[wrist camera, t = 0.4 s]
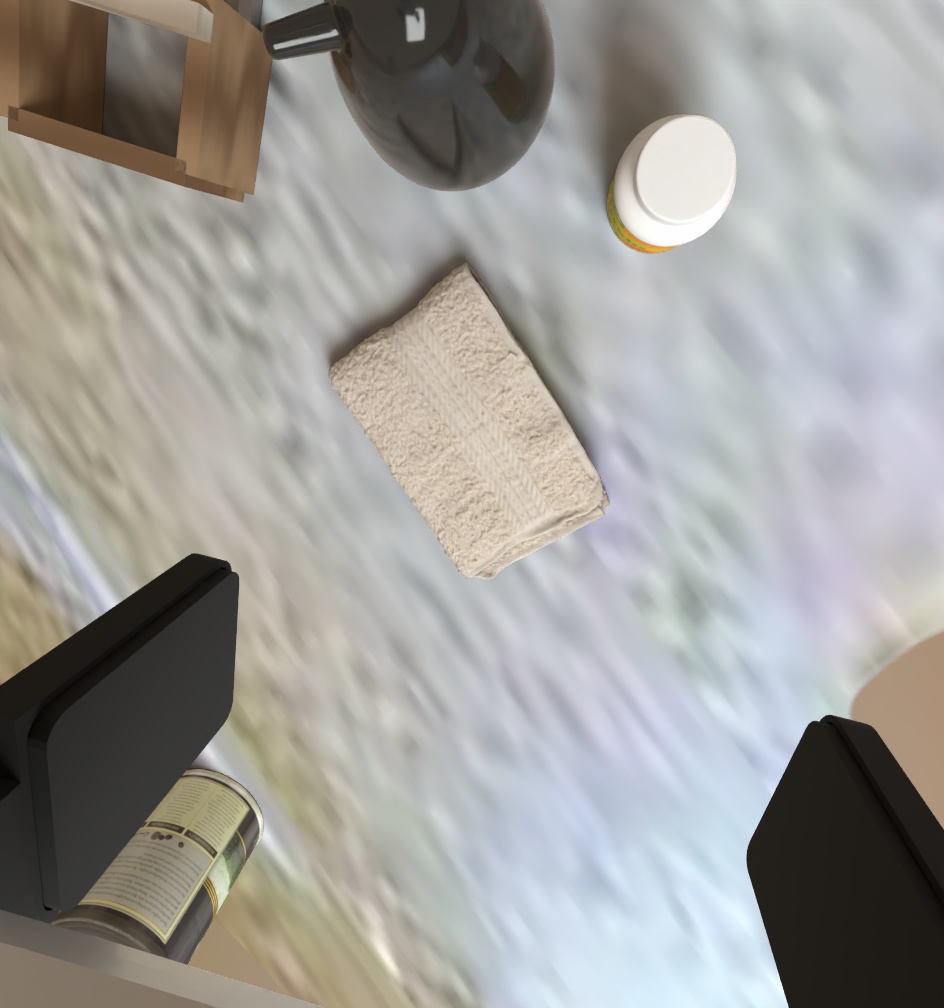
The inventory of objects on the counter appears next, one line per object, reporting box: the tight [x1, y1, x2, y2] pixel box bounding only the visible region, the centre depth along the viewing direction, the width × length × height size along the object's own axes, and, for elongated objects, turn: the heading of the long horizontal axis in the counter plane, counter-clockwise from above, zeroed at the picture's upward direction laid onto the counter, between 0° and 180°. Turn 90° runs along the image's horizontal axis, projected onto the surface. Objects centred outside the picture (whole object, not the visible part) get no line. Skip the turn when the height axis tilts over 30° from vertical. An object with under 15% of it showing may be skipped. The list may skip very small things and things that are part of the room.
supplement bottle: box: [607, 114, 737, 253], centre depth 29 cm, size 5×5×10 cm
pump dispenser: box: [262, 0, 555, 191], centre depth 26 cm, size 10×10×15 cm
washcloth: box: [329, 262, 610, 579], centre depth 39 cm, size 12×18×3 cm, turn 35°
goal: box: [0, 0, 272, 202], centre depth 32 cm, size 9×11×7 cm
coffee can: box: [50, 769, 263, 965], centre depth 49 cm, size 10×10×14 cm
